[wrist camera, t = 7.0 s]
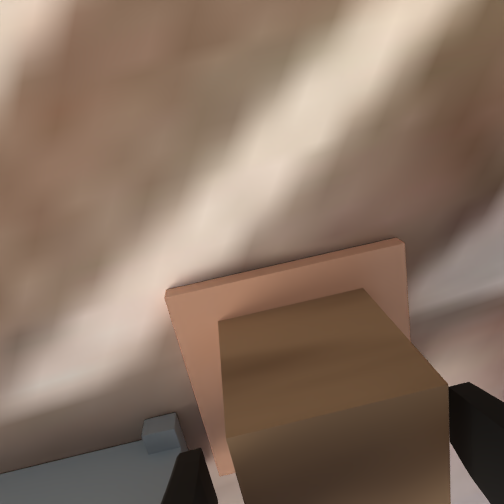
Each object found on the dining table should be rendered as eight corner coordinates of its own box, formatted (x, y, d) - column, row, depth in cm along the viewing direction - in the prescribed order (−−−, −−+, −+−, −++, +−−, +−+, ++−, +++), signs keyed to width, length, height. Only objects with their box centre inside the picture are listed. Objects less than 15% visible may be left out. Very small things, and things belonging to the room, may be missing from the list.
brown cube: (381, 401, 15) (460, 532, 11) (247, 434, 15) (267, 581, 10) (370, 286, 13) (459, 381, 9) (217, 321, 13) (225, 438, 9)
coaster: (408, 416, 16) (415, 427, 16) (219, 463, 16) (219, 476, 16) (396, 237, 14) (404, 243, 13) (165, 289, 13) (164, 298, 13)
